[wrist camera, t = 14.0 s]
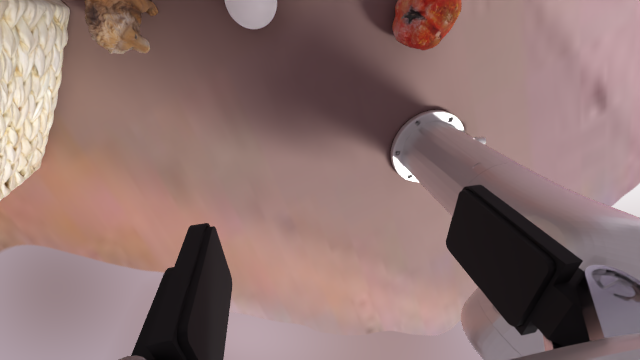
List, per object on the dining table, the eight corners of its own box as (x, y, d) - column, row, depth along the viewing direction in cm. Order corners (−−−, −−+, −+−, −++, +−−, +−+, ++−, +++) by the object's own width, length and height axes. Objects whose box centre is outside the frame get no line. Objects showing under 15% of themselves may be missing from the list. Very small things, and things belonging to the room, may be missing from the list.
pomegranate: (429, -19, 35) (393, -43, 28) (484, -6, 32) (459, -30, 25) (405, 42, 39) (368, 35, 32) (451, 59, 36) (421, 55, 29)
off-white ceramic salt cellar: (271, -25, 30) (273, -34, 25) (277, 26, 33) (280, 27, 27) (226, -23, 29) (218, -32, 24) (235, 29, 32) (230, 30, 27)
